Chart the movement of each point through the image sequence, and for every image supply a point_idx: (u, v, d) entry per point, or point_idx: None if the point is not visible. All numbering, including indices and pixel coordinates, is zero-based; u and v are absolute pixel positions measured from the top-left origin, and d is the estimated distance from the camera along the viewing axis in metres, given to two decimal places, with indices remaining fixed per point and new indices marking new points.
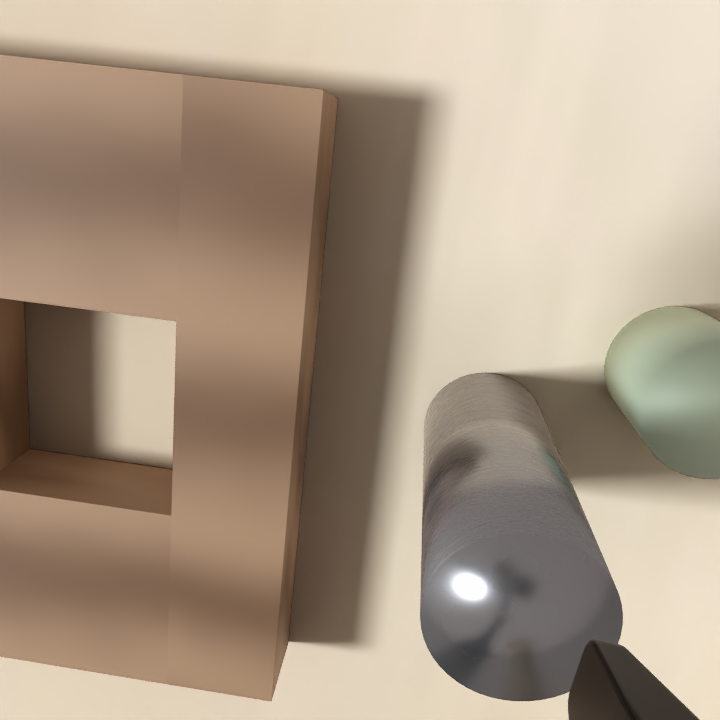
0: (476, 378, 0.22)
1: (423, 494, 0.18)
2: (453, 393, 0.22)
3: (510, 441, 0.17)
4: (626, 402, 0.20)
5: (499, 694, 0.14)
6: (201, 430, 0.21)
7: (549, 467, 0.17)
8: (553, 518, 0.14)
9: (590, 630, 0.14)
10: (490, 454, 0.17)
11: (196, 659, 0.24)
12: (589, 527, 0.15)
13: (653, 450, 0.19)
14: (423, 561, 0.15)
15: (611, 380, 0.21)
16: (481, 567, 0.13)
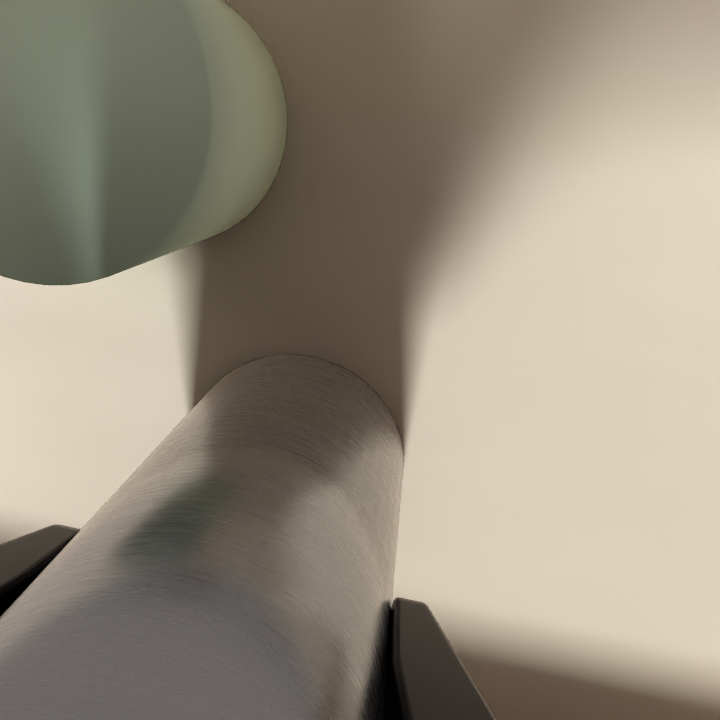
0: None
1: None
2: None
3: None
4: None
5: None
6: None
7: None
8: None
9: None
10: None
11: None
12: None
13: (141, 252, 0.08)
14: None
15: None
16: None
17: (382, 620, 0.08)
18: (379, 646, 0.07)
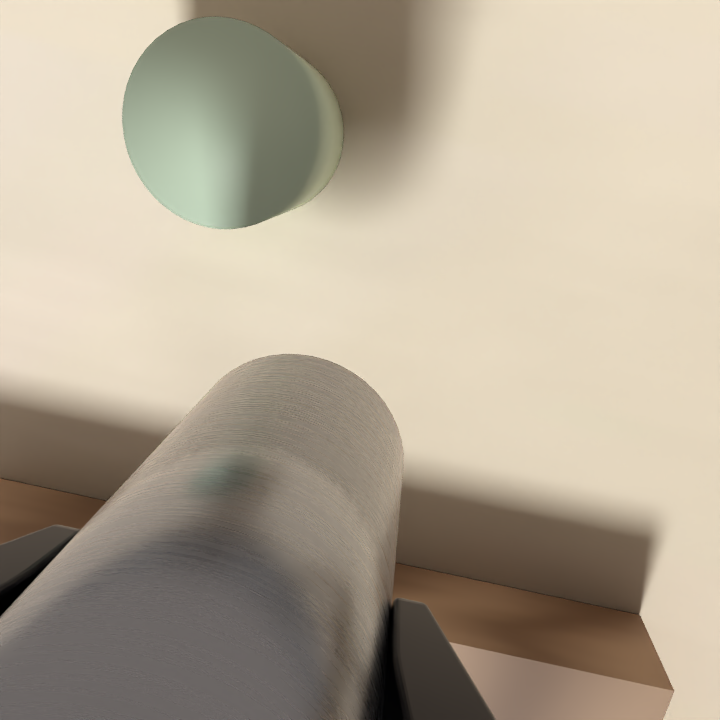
0: None
1: None
2: None
3: None
4: None
5: None
6: None
7: None
8: None
9: None
10: None
11: None
12: None
13: (276, 210, 0.14)
14: None
15: None
16: None
17: (382, 619, 0.08)
18: (379, 644, 0.07)
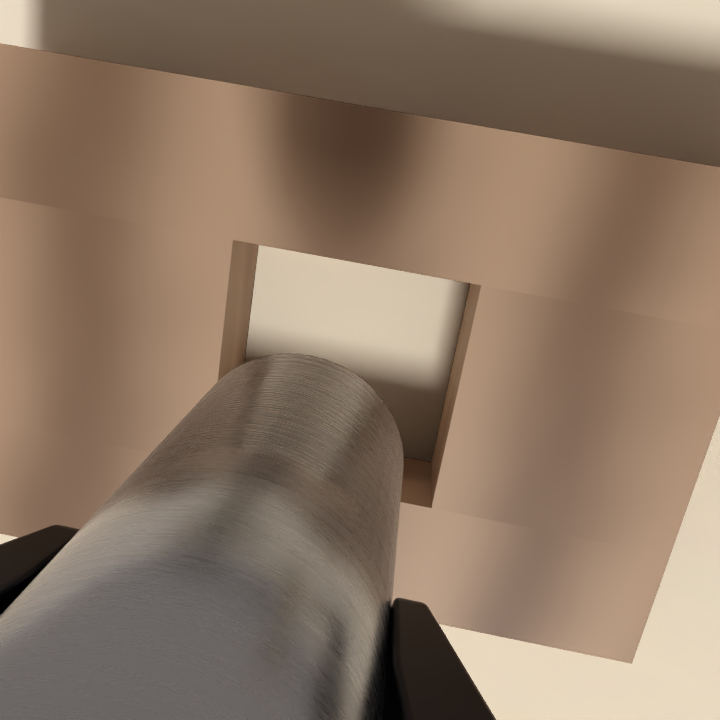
0: None
1: None
2: None
3: None
4: None
5: None
6: (366, 229, 0.17)
7: None
8: None
9: None
10: None
11: (710, 285, 0.17)
12: None
13: None
14: None
15: None
16: None
17: (382, 619, 0.08)
18: (379, 645, 0.07)
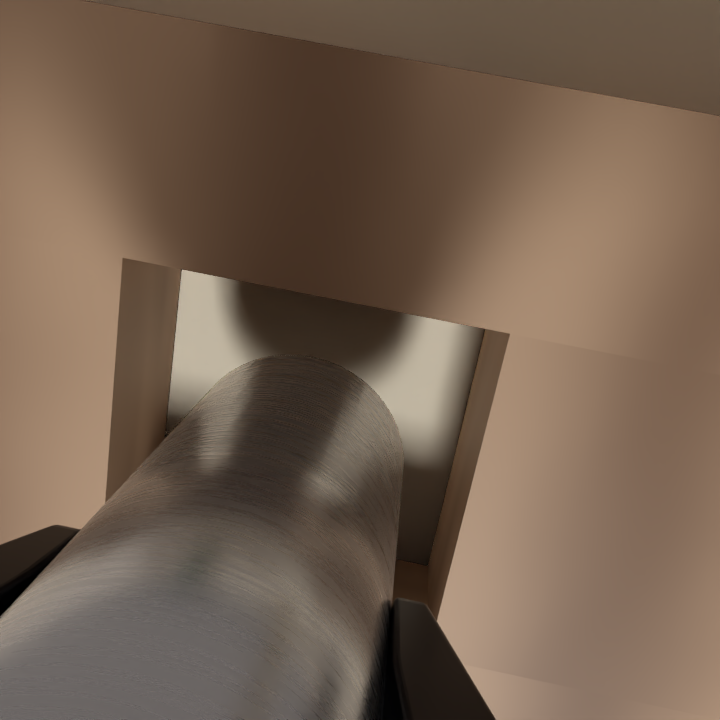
0: None
1: None
2: None
3: None
4: None
5: None
6: (330, 243, 0.11)
7: None
8: None
9: None
10: None
11: None
12: None
13: None
14: None
15: None
16: None
17: (382, 620, 0.08)
18: (379, 646, 0.07)
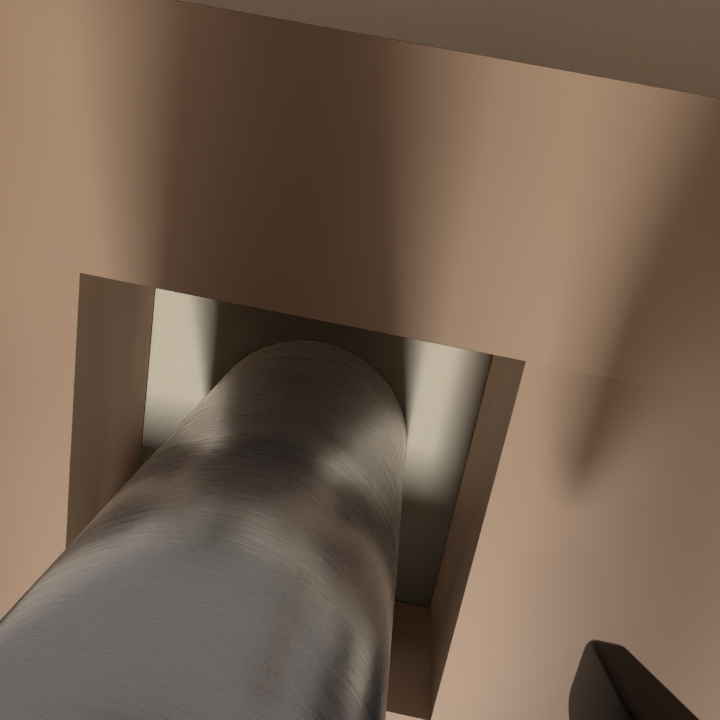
0: None
1: None
2: None
3: None
4: None
5: None
6: (318, 257, 0.09)
7: None
8: None
9: None
10: None
11: None
12: (10, 629, 0.05)
13: None
14: None
15: None
16: None
17: (390, 568, 0.08)
18: (388, 589, 0.08)
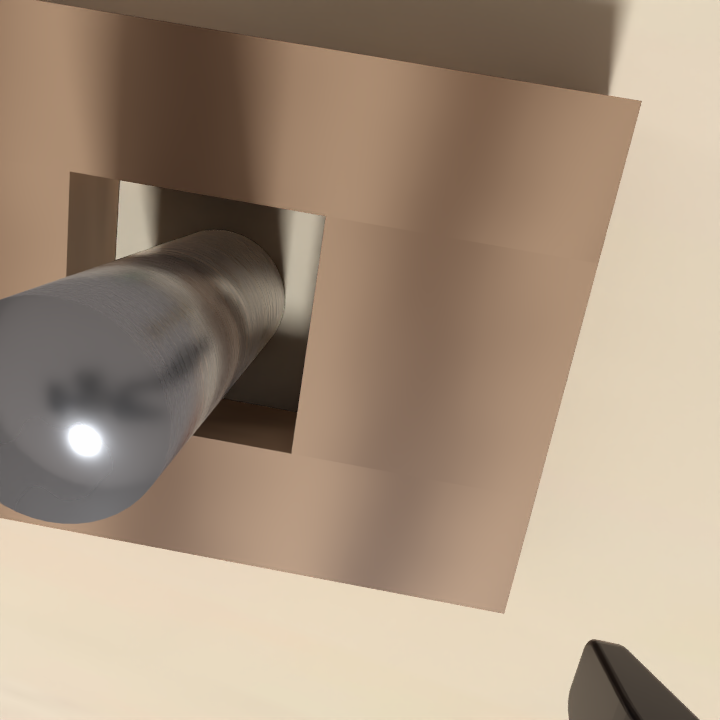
0: None
1: None
2: None
3: None
4: None
5: (171, 436, 0.11)
6: (205, 157, 0.17)
7: None
8: None
9: (51, 333, 0.11)
10: None
11: (557, 212, 0.16)
12: None
13: None
14: None
15: None
16: None
17: (240, 319, 0.16)
18: (236, 322, 0.15)
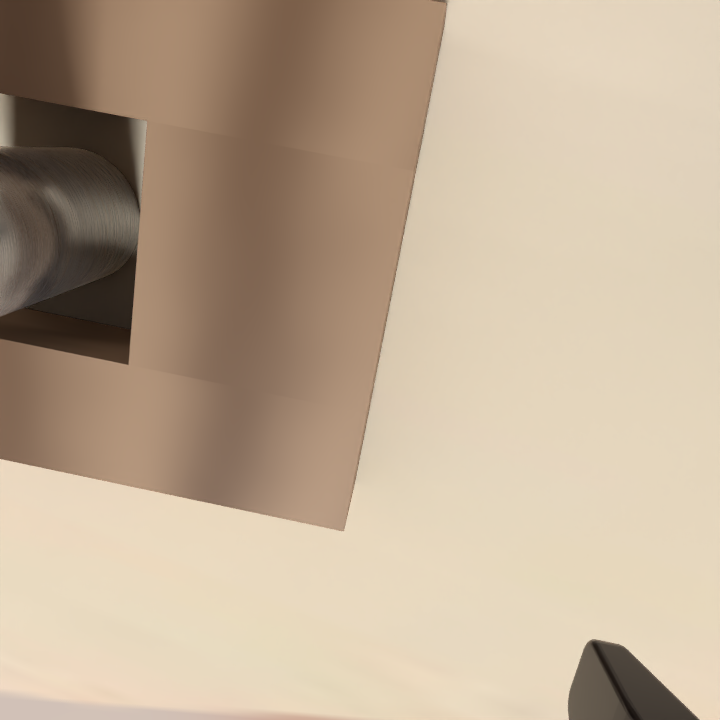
0: None
1: None
2: None
3: None
4: None
5: None
6: (27, 60, 0.17)
7: None
8: None
9: None
10: None
11: (370, 117, 0.16)
12: None
13: None
14: None
15: None
16: None
17: (49, 214, 0.16)
18: (38, 215, 0.15)
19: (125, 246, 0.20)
